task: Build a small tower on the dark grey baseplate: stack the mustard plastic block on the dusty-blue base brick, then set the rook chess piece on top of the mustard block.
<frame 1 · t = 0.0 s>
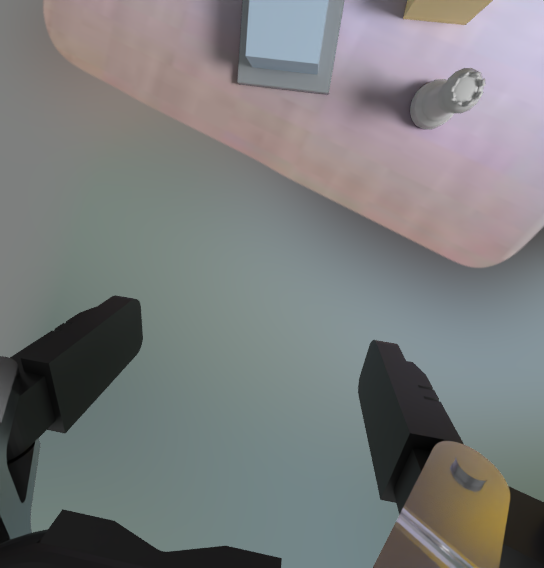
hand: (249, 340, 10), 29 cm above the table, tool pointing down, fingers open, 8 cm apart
baseplate: (289, 32, 30), on the table
rook chess piece: (429, 106, 31), on the table
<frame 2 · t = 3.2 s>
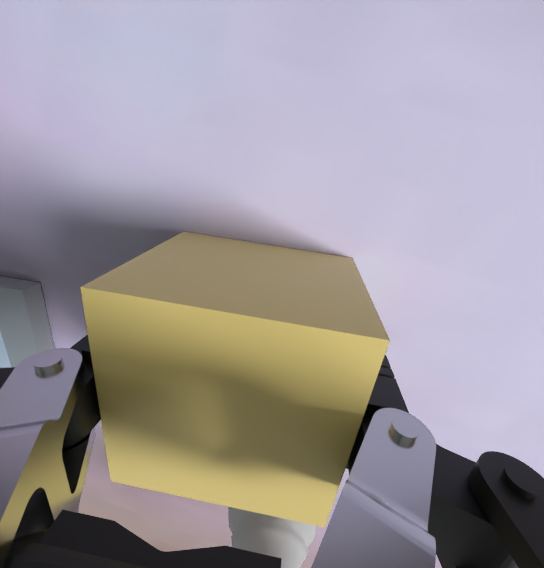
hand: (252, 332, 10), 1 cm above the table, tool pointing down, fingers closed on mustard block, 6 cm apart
mustard block: (257, 318, 11), on the table, touching gripper
rook chess piece: (275, 485, 15), on the table
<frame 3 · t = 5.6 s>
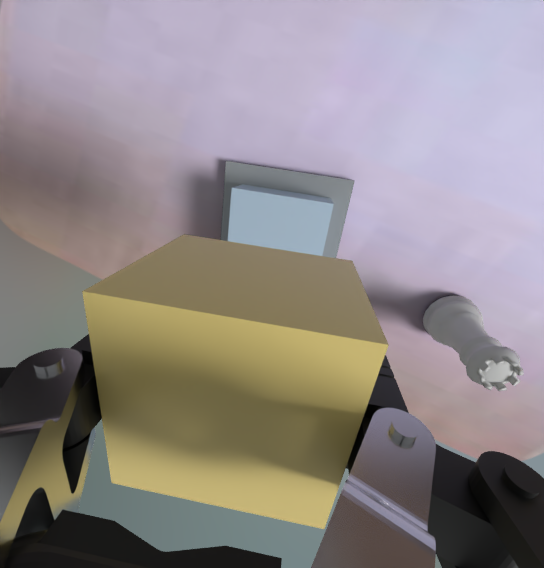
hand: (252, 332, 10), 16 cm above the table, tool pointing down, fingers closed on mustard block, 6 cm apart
mustard block: (257, 320, 11), point 15 cm above the table, touching gripper
baseplate: (280, 232, 25), on the table
rook chess piece: (446, 314, 26), on the table
when the fingers open (6 cm above the table, at t = 7.9 s): mustard block stays where it is, resting on baseplate.
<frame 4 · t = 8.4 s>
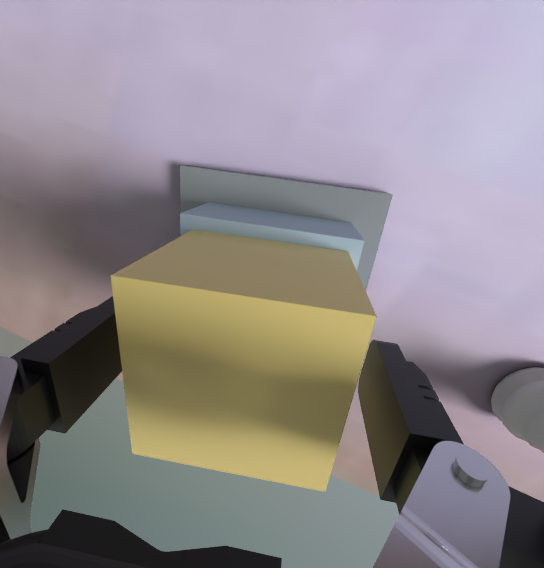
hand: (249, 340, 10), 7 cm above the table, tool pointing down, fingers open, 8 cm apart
mustard block: (261, 309, 12), point 4 cm above the table, touching baseplate
baseplate: (272, 273, 16), on the table
rook chess piece: (525, 390, 17), on the table
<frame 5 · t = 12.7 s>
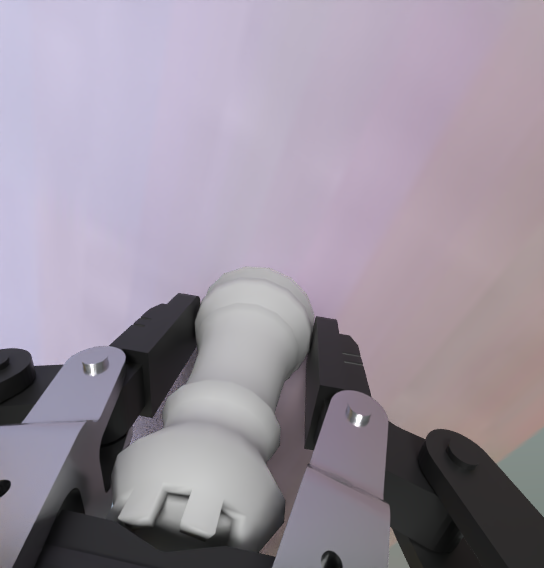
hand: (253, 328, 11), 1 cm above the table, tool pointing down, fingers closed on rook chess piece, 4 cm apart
rook chess piece: (259, 311, 12), on the table, touching gripper
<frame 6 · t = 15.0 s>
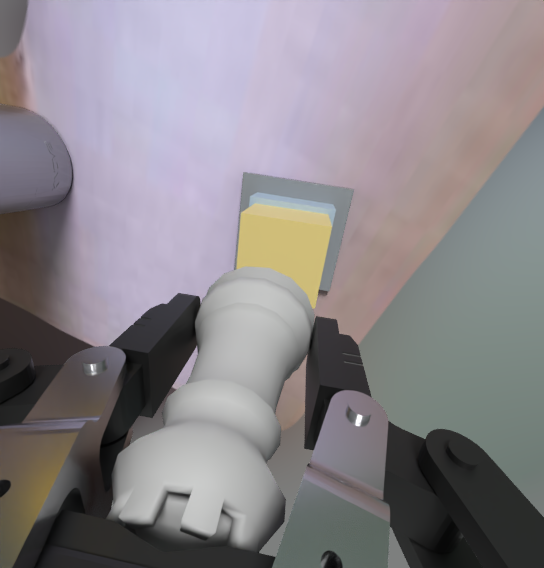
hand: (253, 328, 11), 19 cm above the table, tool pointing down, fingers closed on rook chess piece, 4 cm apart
mustard block: (285, 244, 24), point 4 cm above the table, touching baseplate
baseplate: (289, 233, 28), on the table
rook chess piece: (260, 311, 12), point 18 cm above the table, touching gripper
when the fingers open (12 cm above the table, at t = 17.3 s): rook chess piece drops 1 cm, resting on mustard block.
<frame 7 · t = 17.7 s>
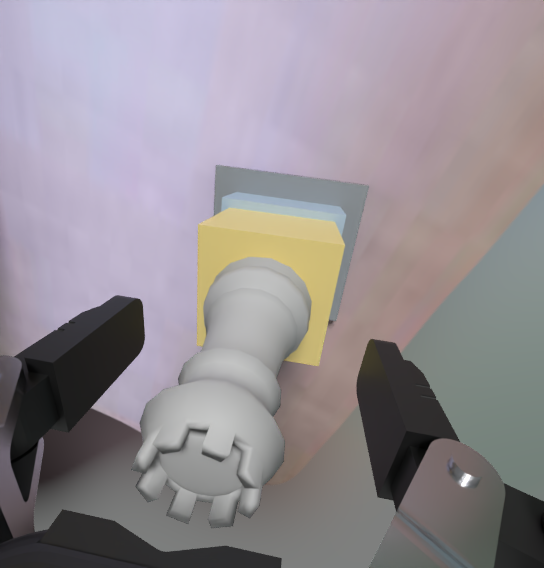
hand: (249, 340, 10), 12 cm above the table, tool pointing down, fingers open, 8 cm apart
mustard block: (275, 264, 17), point 4 cm above the table, touching baseplate, rook chess piece
baseplate: (281, 246, 21), on the table
rook chess piece: (261, 299, 13), point 9 cm above the table, touching mustard block
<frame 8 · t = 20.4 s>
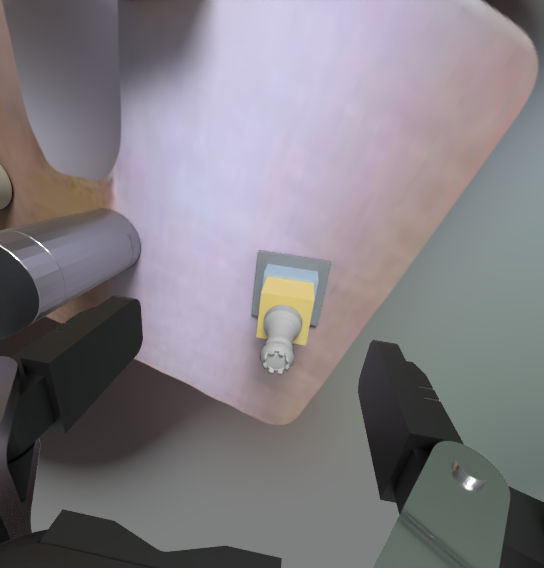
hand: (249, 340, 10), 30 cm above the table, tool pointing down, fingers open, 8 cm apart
mustard block: (287, 300, 38), point 4 cm above the table, touching baseplate, rook chess piece
baseplate: (289, 288, 42), on the table
rook chess piece: (283, 319, 33), point 9 cm above the table, touching mustard block
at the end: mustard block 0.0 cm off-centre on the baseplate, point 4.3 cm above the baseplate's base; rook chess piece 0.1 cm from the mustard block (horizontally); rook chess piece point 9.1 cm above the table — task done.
